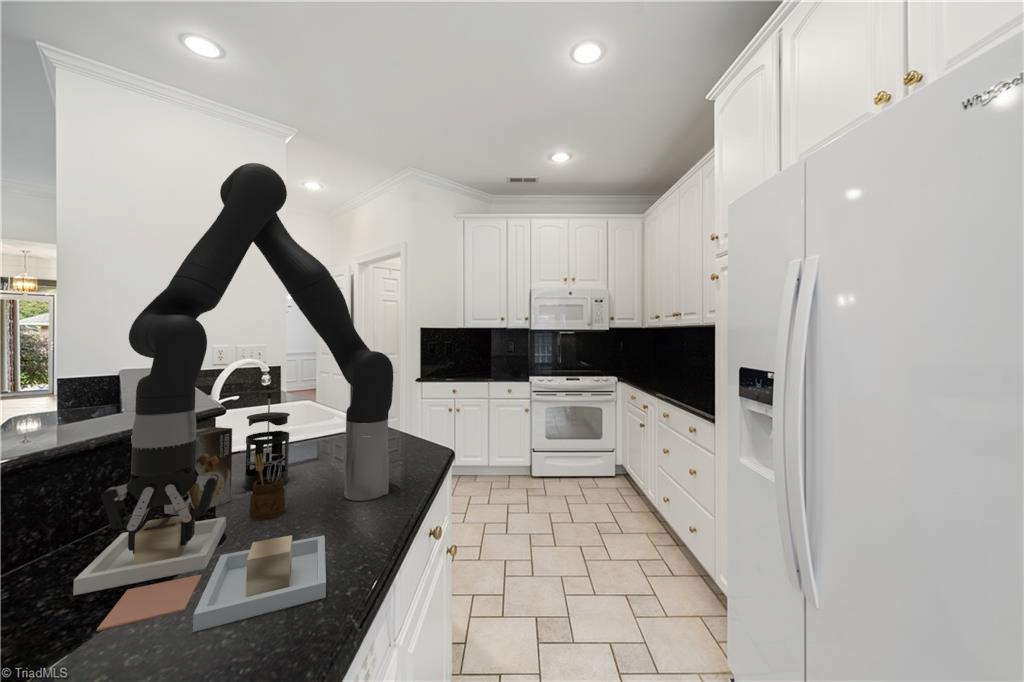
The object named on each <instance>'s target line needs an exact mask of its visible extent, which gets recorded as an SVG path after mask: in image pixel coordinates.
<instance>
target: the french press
mask: <svg viewBox="0 0 1024 682" xmlns="http://www.w3.org/2000/svg"><path fill="white" fill-rule="evenodd" d="M258 393H259V394H266V399H267V402H268V403H267V407H268V408H267V412H260V413H254V414H250V415H248V416H246V419H247V420H248V427H251V426H252V425H253V424H254V425H255V424H257V423H264V422H267V431H263V432H262V431H260V432H257V433H252V434H249V435H247V436H246V437H245V445H246V450H245V454H246V455H245V472H244V484H243V487H242V488H243V489H244V490H246V491H249V492H253V484H254V483H255V482H256V481H258V480H261V479H260V472H259V471H256V466H255V458H254V456H255V455H256V458H257V464H258V457H257V455H258V454H259V458H260V464H261V457H260V454H262V458H263V464H264V469H263V470H262V477H263V479H264V478H270V477H280V478H282V479H283V482H284V485H283V486H285V485H287V484H288V483H289V482H290V478H289V449H290V448H289V445H290V432H288V431H285V430H273V431H272V430H270V424H271V425H275V426H285V425H287V424H288V419H289V418H288V417H290V416H291V413H289V412H284V411H283V412H278V411H275V412H274V411H273V412H272V411H271V399H272V397H273V395H272V394H277V393H280V390H275V389H269V390H268V389H267V390H262V391H259V392H258ZM270 411H271V412H270ZM270 437H271V438H270ZM263 438H264V439H263ZM266 438H267V439H266ZM283 442H285V443H284V453H283ZM270 445H271V453H270V452H269V451H270V450H269V449H270V448H269V446H270ZM251 446H255V448H254V449H255V450H254V451H255V453H254V456H251V453H252V451H251V450H252V449H251ZM264 446H267V447H266V453H264V450H265V449H264ZM274 462H275V464H274ZM283 462H284V464H283ZM272 463H273V464H272ZM278 463H280V464H278ZM251 466H254V467H252V468H251ZM268 467H269V468H268ZM270 467H271V470H270ZM274 467H276V469H274ZM281 467H282V469H281ZM269 470H270V471H269ZM279 471H280V472H279ZM267 472H268V473H267ZM278 472H279V474H278ZM273 473H275V475H274V474H273ZM280 474H281V475H280ZM268 475H269V477H268ZM278 475H279V476H278ZM288 481H289V482H288ZM286 483H287V484H286Z"/></svg>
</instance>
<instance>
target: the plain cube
mask: <svg viewBox="0 0 1024 682" xmlns="http://www.w3.org/2000/svg"><path fill="white" fill-rule="evenodd" d="M292 541H293V535H287V536H285V535H284V536H281V537H277V538H276V537H275V538H271V539H264V540H260V541H253V542H252V544H251V546H250V549H249V550H250V552H249V555H248V558H247V575H246V597H250V596H254V595H258V594H262V593H266V592H270V591H275V590H279V589H283V588H287V587H289V585H290V576H291V567H292Z"/></svg>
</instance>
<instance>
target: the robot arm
mask: <svg viewBox="0 0 1024 682" xmlns="http://www.w3.org/2000/svg"><path fill="white" fill-rule="evenodd" d="M219 190H220V192H219V193H220V199H221V202H222V205H223V207H222V209H221V211H220V212H219V214H218V215H217V216H216V218H215V220H214V221H213V223H212V224H211V225H210V227H209V228H208V229H207V230H206V232H205V233H204V234H203V235H202V236H201V237H200V239H199V240H198V241H197V243H196V244H195V245H194V246H193V247H192V248H191V250H190V251H189V253H188V254H187V256H186V257H185V258H184V260H183V261H182V263H181V264H180V266H179V267H178V269H177V271H176V272H175V274H174V275H173V277H172V278H171V280H170V282H169V283H168V285H167V286H166V288H165V289H164V290H163V291H161V293H159V294H158V295H157V296H156V297H155V298H154V299H153V300H152V301H151V302H149V304H147V305H146V307H144V309H143V310H142V311H141V312H140V313H139V314H138V315H137V316H136V318H135V319H134V321H133V322H132V324H131V326H130V329H129V333H128V342H129V344H130V347H131V349H132V350H133V351H134V352H136V354H138V355H140V356H143V357H146V358H150V359H152V364H151V368H150V369H151V370H150V373H149V374H147V375H146V376H143V377H142V378H140V379H139V380H138V382H137V385H136V389H135V390H136V391H135V409H134V413H135V415H134V421H133V425H132V431H131V433H132V434H131V439H130V442H131V461H130V462H131V464H130V466H131V467H130V478H129V480H128V482H127V483H125V484H122V485H119V486H118V485H112V486H111V487H109V488H108V489H106V490H105V491H104V492H102V494H101V495H100V497H101V500H102V503H103V506H104V509H105V513H106V516H107V519H108V523H109V526H110V527H111V529H112V530H119V529H124V530H127V531H128V532H129V534H128V549H129V551H133V554H134V551H135V534H136V533H137V532H138V531H139V530H140V529H141V528H142V527H143V526H144V525H145V524H146V523H144V520H145V519H146V517H147V515H148V512H149V511H150V509H151V508H154V507H159V506H165V505H172V504H173V506H174V508H175V510H176V511H178V513H179V515H178V516H180V517H181V519H182V522H181V546H183V545H186V544H187V543H188V541H190V540H191V538H192V537H193V535H194V531H195V530H194V529H195V522H196V518H199V517H203V516H204V515H205V514H206V513H207V511H208V510H209V509H210V508H209V506H210V503H211V500H212V497H213V494H214V491H215V488H216V484H217V481H218V478H219V477H218V475H215V474H214V475H212V476H199V474H198V473H197V471H196V469H195V458H196V430H197V418H196V417H197V416H196V383H197V381H198V378H199V376H200V373H201V370H202V367H203V363H204V361H205V357H206V353H207V350H208V349H207V347H208V337H207V333H206V329H205V327H204V326H203V325H202V324H201V322H200V321H199V320H197V319H198V317H200V316H201V315H202V314H205V313H208V312H210V311H213V310H214V309H215V308H216V307H217V306H218V304H219V303H220V302H221V300H222V298H223V296H224V294H225V293H226V291H227V289H228V288H229V286H230V283H231V282H232V280H233V278H234V276H235V275H236V273H237V271H238V269H239V267H240V265H241V263H242V261H243V260H244V258H245V257H246V254H247V253H248V251H249V249H250V247H251V245H252V244H254V245H255V247H257V248H258V250H259V251H260V253H261V254H262V256H263V257H264V259H265V260H266V262H267V263H268V264H269V266H270V268H271V269H272V270H273V272H274V273H275V275H276V276H277V277H278V280H280V282H281V283H282V285H283V286H284V288H285V289H286V291H287V293H288V294H289V296H290V297H291V298H292V300H293V303H295V305H296V306H297V307H298V309H299V310H300V312H301V313H302V315H304V317H305V319H306V320H307V321H308V322H309V324H310V325H311V326H312V328H313V329H314V331H315V332H316V333H317V334H318V336H319V337H320V338H321V340H323V342H324V343H325V345H326V346H327V348H328V349H329V352H330V353H331V355H332V357H333V358H334V361H335V362H336V364H337V365H338V368H339V370H340V372H341V373H342V375H343V377H344V379H345V381H346V382H347V383H348V384H349V385H350V386H351V387H352V388H351V389H352V391H351V393H352V394H351V395H352V396H351V402H350V405H349V406H348V407H347V408H346V411H345V414H346V415H345V447H344V449H345V450H344V451H345V455H344V456H345V457H344V459H345V460H344V487H343V488H344V495H343V496H344V497H345V499H347V500H350V501H354V502H355V501H356V502H362V501H370V500H374V499H377V498H381V497H382V496H385V495H386V496H387V495H389V481H390V478H389V476H390V453H389V450H388V449H389V448H388V444H389V443H388V442H389V441H388V440H389V439H388V438H389V414H390V413H389V411H390V409H391V407H392V403H393V390H394V389H393V388H394V367H393V363H392V361H391V359H390V358H389V356H387V355H386V354H385V353H382V352H380V351H376V350H375V351H374V350H371V349H370V348H369V347H368V346H367V345H366V343H365V341H364V340H363V339H362V337H361V336H360V335H359V333H358V331H357V330H356V328H355V325H354V324H353V320H352V318H351V314H350V311H349V307H348V304H347V302H346V297H345V296H344V294H343V292H342V290H341V288H340V287H339V285H338V284H337V281H336V280H335V279H334V277H333V276H332V275H331V272H330V271H329V269H327V267H326V266H325V265H324V264H323V263H322V262H321V261H320V260H318V258H316V257H315V256H314V255H312V254H311V253H310V252H309V251H307V250H306V249H304V248H303V247H302V246H301V245H300V244H299V243H297V241H296V240H295V239H294V238H293V237H292V235H291V234H290V233H289V232H288V230H287V228H286V227H285V225H284V224H283V222H282V220H281V219H280V217H279V215H278V212H279V211H280V210H281V209H282V208H283V206H284V205H285V203H286V202H287V198H288V197H287V196H288V193H287V185H286V184H285V181H284V180H283V178H282V177H281V176H280V174H279V173H277V171H275V170H274V169H273V168H271V167H270V166H267V165H265V164H263V163H258V162H248V163H244V164H242V165H240V166H239V167H237V168H235V169H234V170H233V171H232V172H231V173H230V174H229V175H228V176H227V177H226V179H225V180H224V181H223V182H222V184H221V186H220V189H219ZM195 483H198V484H199V489H200V490H202V491H203V494H202V497H201V500H200V503H199V506H198V507H196V508H194V506H193V504H192V499H191V497H190V494H189V492H188V491H189V490H190V489H191V488H192V486H193V485H194V484H195ZM127 493H129V494H130V495H132V497H134V498H135V499H136V500H137V501H138V502H137V504H136V506H135V508H134V510H133V512H132V513H131V516H129V514H128V510H127V507H126V504H125V500H124V499H125V498H127ZM178 502H179V503H178Z"/></svg>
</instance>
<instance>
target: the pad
mask: <svg viewBox="0 0 1024 682" xmlns="http://www.w3.org/2000/svg"><path fill="white" fill-rule="evenodd" d="M202 577H203V576H202V574H196V575H192V576H188V577H187V576H186V577H183V578H178V579H174V580H168V581H163V582H159V583H153V584H149V585H148V584H147V585H144V586H143V585H142V586H138V587H133V588H130V589H129V588H128V589H126V591H125V592H124V594H123V595H122V596H121V597H120V599H119V600H118V601H117V602H116V604H115V605H114V607H112V609H111V611H110V612H109V613H108V614H107V616H106V617H105V618H104V619H103V620H102V622H101V623H100V624H99V626H98V627H97V628H96V632H100V631H105V630H109V629H112V628H118V627H122V626H125V625H130V624H133V623H137V622H138V623H139V622H143V621H146V620H150V619H154V618H159V617H163V616H168V615H172V614H176V613H181V612H184V611H185V610H186V608H187V606H188V605H189V603H190V601H191V599H192V596H193V594H194V592H195V590H196V588H197V587H198V585H199V582H200V580H201V578H202Z"/></svg>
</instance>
